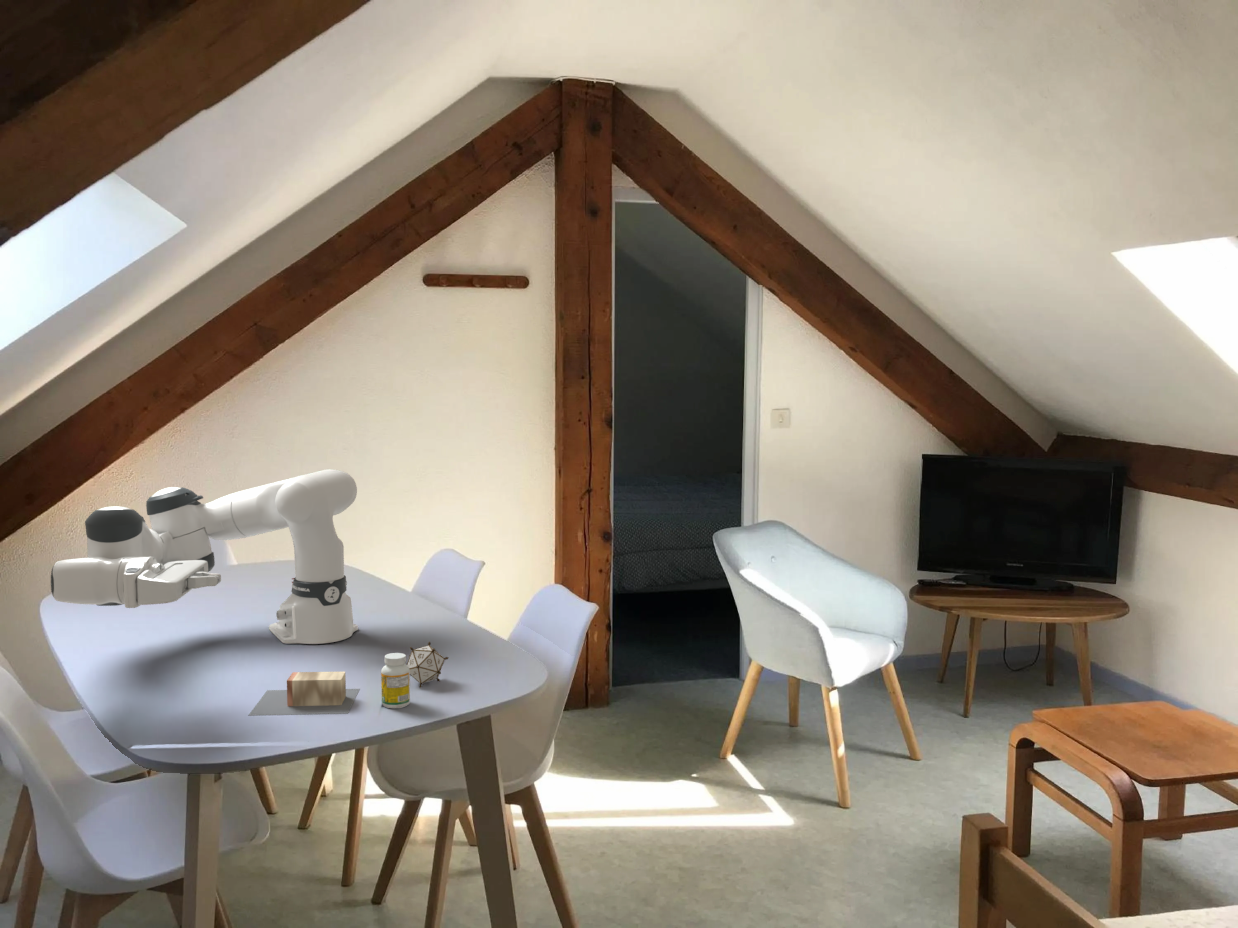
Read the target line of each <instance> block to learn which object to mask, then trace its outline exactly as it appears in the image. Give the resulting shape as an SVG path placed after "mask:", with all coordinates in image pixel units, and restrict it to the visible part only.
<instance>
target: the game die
mask: <svg viewBox="0 0 1238 928" xmlns="http://www.w3.org/2000/svg"><path fill="white" fill-rule="evenodd" d="M409 650H410V651H411V652H410V654H409V657H408V660H407V661H406V662H407V663H406V665H407V666H408V667H409V669H410V677H412V678H413V679H414V680H415V681H416V682H418V684H419V688H420V689H421V688H422V687H423V684H425V683H428V682H432V681H435V680H436V681H437V682H441V679H440V678H439V676H440V675H441V674H442V673H441V671H442V668H443V665H444V662H445V660H448V659H449V657H448V656H445V657H444V656H443V655H441V654H440V653H439V652H438V650H436V648H434V647H432V646H431V641H429V642H428V643H427V645H423V646H422V647H417V648H413V647H412V646H409Z"/></svg>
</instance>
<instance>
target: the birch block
mask: <svg viewBox="0 0 1238 928" xmlns="http://www.w3.org/2000/svg"><path fill="white" fill-rule="evenodd" d="M346 678H347V677H346V671H302V672H301V671H300V672H299V671H293V672H292V673H291V674H290V676H288V678H287V680H286V690H287V706H329V705H342V703H343V701H344V699H345V697H346V689H347V688H346V687H347V685H346V683H347V681H346V680H347V679H346Z"/></svg>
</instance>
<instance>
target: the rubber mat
mask: <svg viewBox="0 0 1238 928" xmlns="http://www.w3.org/2000/svg"><path fill="white" fill-rule="evenodd" d="M360 690H361V689H360V688H346V697H345V699H344V701H343V703H342V705H329V706H287V689H267V690H266V691H265V693H264V694H263V696H262V697H261V698H260V699H259V700H258V702H257V703H256V704H255V705H254V707H253V708H252V710H251V711H250V713H249V714H248V716H250V717H251V716H253V717H254V716H290V715H291V716H295V715H296V716H298V715H300V716H301V715H305V716H306V715H308V716H309V715H344V714H345V715H347V714H349V712H350V710H351V708H352V706H353V704H354V702H355V699H356V698H357V695H358V694H359V692H360Z"/></svg>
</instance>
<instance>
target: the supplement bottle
mask: <svg viewBox="0 0 1238 928" xmlns="http://www.w3.org/2000/svg"><path fill="white" fill-rule="evenodd" d="M406 662H407V655H406V654H405V653H402V652H391V653H386V654H385V655H384V664H385V665H384V666H383V667H382V668H381V672H380V673H381V674H380V675H381V676H380V679H381V680H380V681H381V683H380V684H381V685H380V687H381V704H382V706H383V707H385V708H387V709H402V708H405V707H407V706H409V705H410V703H411V683H410V679H411V678H410V677H411V675H410V669H409V667H408V666H407V663H406Z"/></svg>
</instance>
